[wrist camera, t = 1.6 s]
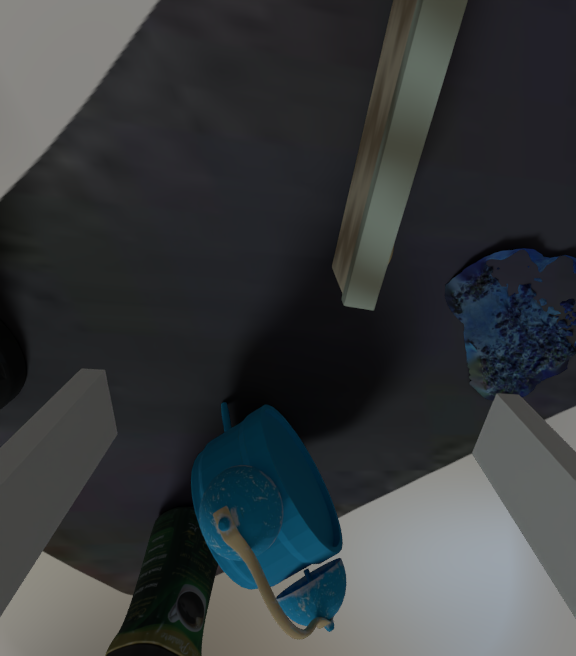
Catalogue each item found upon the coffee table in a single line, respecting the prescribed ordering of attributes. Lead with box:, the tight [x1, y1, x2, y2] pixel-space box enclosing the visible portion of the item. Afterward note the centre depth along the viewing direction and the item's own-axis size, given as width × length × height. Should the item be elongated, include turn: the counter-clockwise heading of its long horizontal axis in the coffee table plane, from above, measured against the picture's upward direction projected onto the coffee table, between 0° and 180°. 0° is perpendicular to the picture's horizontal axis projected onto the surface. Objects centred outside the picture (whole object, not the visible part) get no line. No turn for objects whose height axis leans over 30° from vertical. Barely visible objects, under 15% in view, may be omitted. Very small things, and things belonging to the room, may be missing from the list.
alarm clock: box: [191, 402, 346, 639], centre depth 32 cm, size 17×10×20 cm, turn 31°
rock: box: [445, 248, 576, 401], centre depth 34 cm, size 15×17×2 cm
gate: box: [332, 0, 468, 311], centre depth 22 cm, size 20×3×9 cm, turn 170°
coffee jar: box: [105, 507, 218, 656], centre depth 40 cm, size 10×8×19 cm
